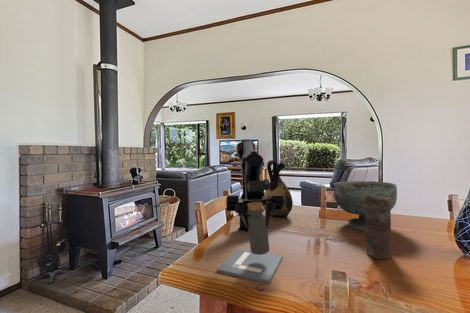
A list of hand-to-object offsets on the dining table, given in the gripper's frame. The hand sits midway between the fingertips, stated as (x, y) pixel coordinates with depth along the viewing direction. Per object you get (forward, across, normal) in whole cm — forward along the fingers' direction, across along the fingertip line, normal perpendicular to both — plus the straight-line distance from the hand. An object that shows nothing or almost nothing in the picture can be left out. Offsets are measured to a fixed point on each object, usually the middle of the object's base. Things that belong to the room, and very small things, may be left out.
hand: (257, 227), depth 74 cm
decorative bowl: (-15, +53, +33) cm, 65 cm away
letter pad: (+8, -2, +9) cm, 12 cm away
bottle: (+5, +1, +7) cm, 8 cm away
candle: (+5, +42, +13) cm, 44 cm away
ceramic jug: (-26, +16, +45) cm, 54 cm away
